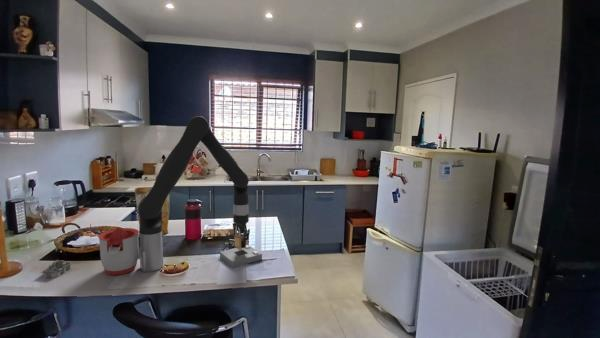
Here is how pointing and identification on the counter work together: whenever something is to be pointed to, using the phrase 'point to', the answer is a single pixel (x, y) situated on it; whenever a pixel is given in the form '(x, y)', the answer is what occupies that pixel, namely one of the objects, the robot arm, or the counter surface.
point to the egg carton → (56, 269)
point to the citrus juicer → (119, 250)
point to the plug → (239, 242)
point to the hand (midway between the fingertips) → (241, 245)
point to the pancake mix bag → (144, 191)
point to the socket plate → (240, 256)
